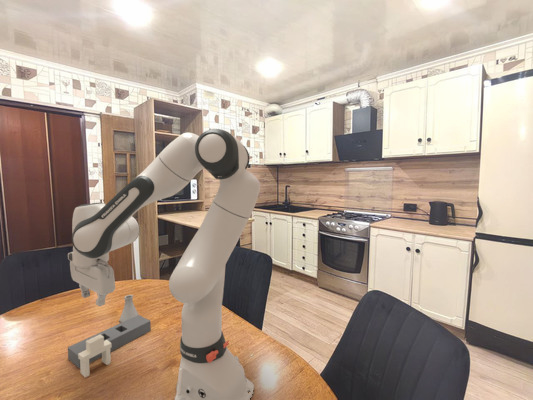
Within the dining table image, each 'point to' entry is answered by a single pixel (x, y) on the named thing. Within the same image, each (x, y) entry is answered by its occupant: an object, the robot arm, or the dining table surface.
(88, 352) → the clip
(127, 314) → the flask
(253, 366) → the dining table surface
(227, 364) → the robot arm
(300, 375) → the dining table surface
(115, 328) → the rail
